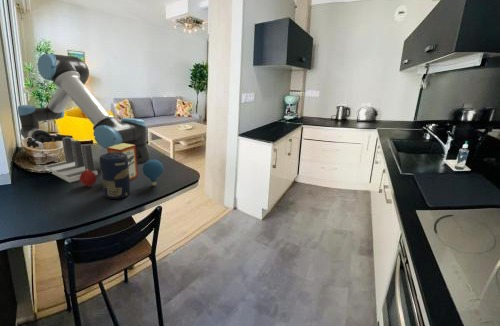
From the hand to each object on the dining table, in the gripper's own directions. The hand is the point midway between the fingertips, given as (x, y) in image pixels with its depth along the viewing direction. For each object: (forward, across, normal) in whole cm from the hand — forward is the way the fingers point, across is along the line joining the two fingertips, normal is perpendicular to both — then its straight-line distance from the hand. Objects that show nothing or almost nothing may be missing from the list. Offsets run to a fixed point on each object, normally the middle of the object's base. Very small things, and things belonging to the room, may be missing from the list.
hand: (58, 143), depth 127 cm
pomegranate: (+39, +7, -10) cm, 41 cm away
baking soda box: (+43, -7, -10) cm, 44 cm away
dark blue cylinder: (+55, +4, -10) cm, 56 cm away
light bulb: (+58, -11, -10) cm, 60 cm away
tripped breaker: (+9, 0, -7) cm, 12 cm away
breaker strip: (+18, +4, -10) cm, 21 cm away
